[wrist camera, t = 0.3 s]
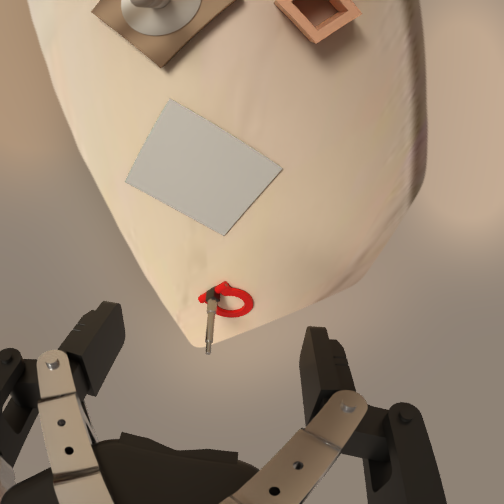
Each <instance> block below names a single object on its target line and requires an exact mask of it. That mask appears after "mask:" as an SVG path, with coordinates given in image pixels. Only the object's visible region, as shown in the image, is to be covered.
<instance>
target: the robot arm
mask: <svg viewBox="0 0 504 504" xmlns="http://www.w3.org/2000/svg"><path fill="white" fill-rule="evenodd" d="M124 340H125V328H124V322H123V316H122V309H121V305H120V304H119V303H113V302H107V301H103V302H102V303H101V304H100V306H99V307H98V308H97V310H96V311H94V310H91V311H90V312H88V313H87V314H85V315H83V317H82V318H81V319H80V321H79V322H78V324H76V326H75V327H74V328H73V330H72V331H71V332H70V333H69V335H68V336H67V337H66V339H65V340H64V342H63V343H62V344H61V346H60V347H59V348H58V350H50V351H47V352H45V353H43V354H42V355H41V356H40V357H39V358H38V359H37V360H36V359H23V358H22V356H21V354H20V352H19V351H18V350H17V349H14V348H7V349H3V350H2V351H0V504H303V502H304V501H305V500H306V499H307V498H308V496H309V495H310V494H311V493H312V491H313V490H314V489H315V487H316V486H317V485H318V483H319V482H320V481H321V480H322V478H323V477H324V476H325V475H326V473H327V472H328V471H329V469H330V468H331V467H332V465H333V464H334V462H335V461H336V460H337V458H338V457H339V456H340V454H341V453H342V454H346V455H351V456H355V457H360V458H362V459H363V466H364V474H365V482H366V489H367V499H368V504H447V503H446V498H445V494H444V490H443V486H442V482H441V478H440V474H439V471H438V467H437V463H436V460H435V456H434V453H433V450H432V446H431V443H430V440H429V437H428V433H427V430H426V427H425V424H424V421H423V418H422V415H421V413H420V411H419V410H418V409H417V408H416V407H415V406H413V405H411V404H409V403H403V402H400V403H396V404H394V405H393V406H391V408H390V409H389V410H386V409H382V408H377V407H373V406H370V405H368V404H367V402H366V400H365V399H364V397H363V396H362V395H360V394H359V393H357V392H356V389H355V386H354V382H353V379H352V375H351V372H350V368H349V366H348V361H347V359H346V354H345V351H344V348H343V347H342V345H341V344H340V343H339V342H338V341H337V340H330V339H329V338H328V333H327V330H326V328H325V327H312V326H309V327H307V330H306V334H305V338H304V342H303V346H302V350H301V354H300V362H299V368H300V377H301V385H302V395H303V404H304V414H305V423H306V428H304V429H303V428H301V429H299V430H298V431H297V432H296V433H295V435H294V436H293V437H292V438H291V439H290V440H289V441H288V442H287V443H286V444H285V445H284V446H283V447H282V449H280V450H279V451H278V453H277V454H276V455H275V456H274V457H273V458H272V459H271V460H270V461H269V462H268V463H267V464H266V465H265V466H264V467H263V468H261V470H259V469H257V468H256V467H254V466H252V465H250V464H248V463H246V462H243V461H240V460H238V452H229V451H221V450H211V449H202V450H181V451H179V450H174V449H171V448H169V447H166V446H164V445H162V444H159V443H158V442H155V441H153V440H151V439H149V438H145V437H140V436H136V435H132V434H128V433H124V432H122V433H121V436H120V439H111V440H104V441H101V442H99V441H98V438H97V436H96V434H95V431H94V428H93V425H92V422H91V419H90V416H89V413H88V410H87V407H86V404H85V401H84V398H85V396H86V394H88V395H92V396H95V397H96V396H97V394H98V392H99V390H100V388H101V386H102V384H103V382H104V380H105V378H106V376H107V374H108V372H109V370H110V368H111V367H112V365H113V363H114V361H115V359H116V357H117V355H118V353H119V352H120V350H121V348H122V346H123V344H124ZM9 394H10V395H11V396H12V398H11V399H10V401H9V402H8V405H7V406H6V408H5V410H4V411H3V413H2V407H3V404H4V403H5V401H6V399H7V398H8V396H9ZM38 413H39V415H40V421H41V426H42V431H43V435H44V441H45V445H46V449H47V453H48V458H49V461H50V465H51V467H50V468H48V469H46V470H44V471H42V472H40V473H38V474H36V475H34V476H32V477H30V478H28V479H26V480H24V481H22V482H20V483H17V484H16V483H15V474H14V470H13V466H14V464H15V462H16V460H17V457H18V455H19V453H20V450H21V448H22V446H23V444H24V442H25V440H26V438H27V435H28V433H29V431H30V429H31V427H32V425H33V423H34V421H35V419H36V417H37V415H38Z"/></svg>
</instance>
